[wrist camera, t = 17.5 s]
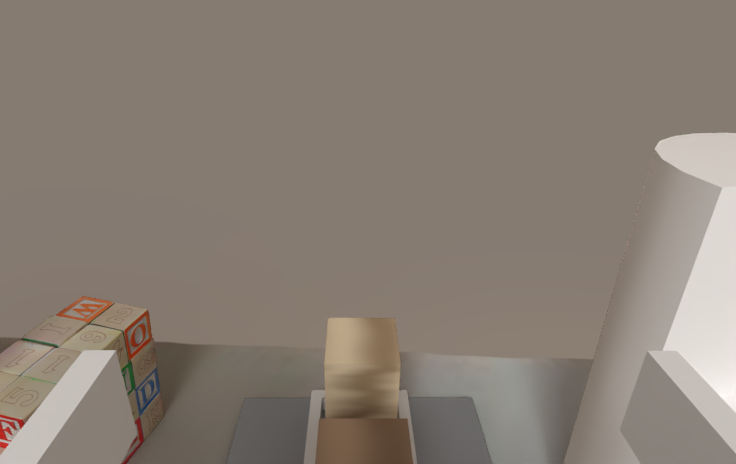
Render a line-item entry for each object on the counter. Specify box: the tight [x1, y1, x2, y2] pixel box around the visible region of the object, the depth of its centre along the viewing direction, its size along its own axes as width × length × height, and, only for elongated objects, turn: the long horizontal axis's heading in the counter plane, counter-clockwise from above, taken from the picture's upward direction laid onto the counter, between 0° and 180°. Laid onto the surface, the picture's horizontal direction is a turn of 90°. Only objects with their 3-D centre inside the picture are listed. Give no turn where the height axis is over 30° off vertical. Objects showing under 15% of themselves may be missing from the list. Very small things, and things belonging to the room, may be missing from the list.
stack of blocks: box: [0, 296, 164, 464], centre depth 32 cm, size 21×6×12 cm, turn 168°
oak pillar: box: [324, 318, 401, 419], centre depth 39 cm, size 6×6×11 cm
